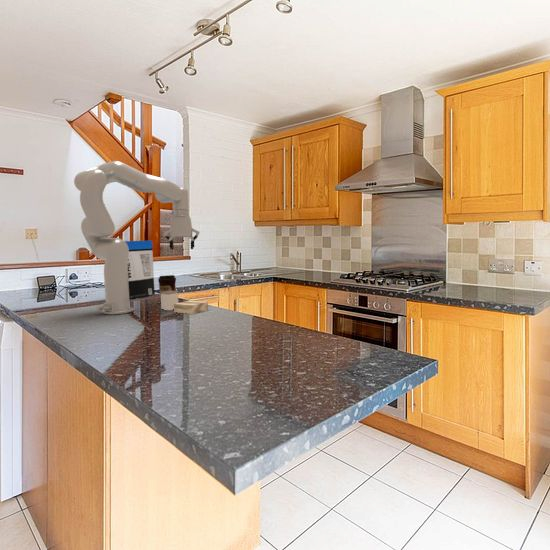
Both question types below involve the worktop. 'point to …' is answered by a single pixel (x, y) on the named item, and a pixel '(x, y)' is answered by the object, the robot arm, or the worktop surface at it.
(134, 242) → the protein powder
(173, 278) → the coffee cup
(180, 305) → the block
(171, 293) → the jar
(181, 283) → the worktop surface
